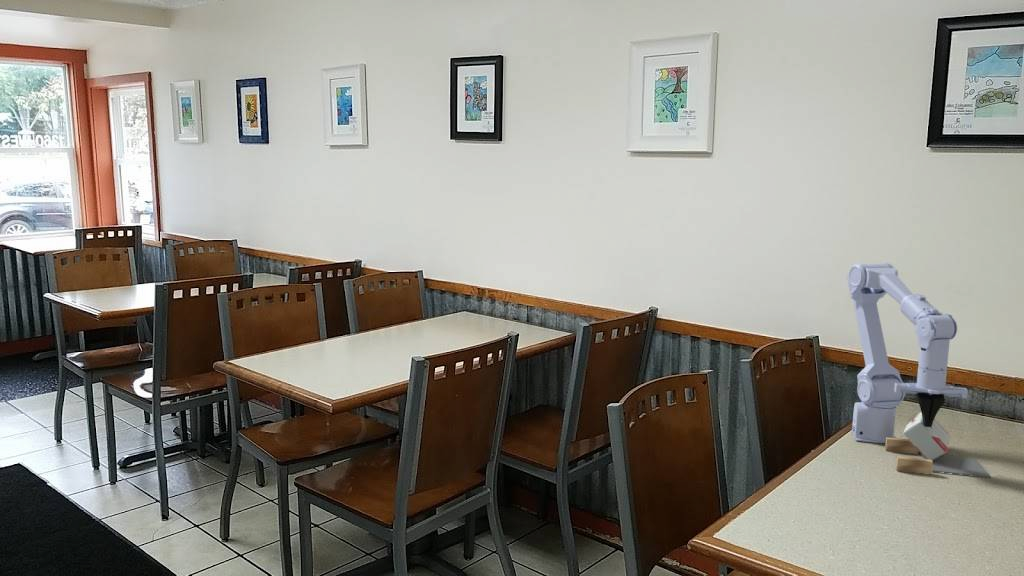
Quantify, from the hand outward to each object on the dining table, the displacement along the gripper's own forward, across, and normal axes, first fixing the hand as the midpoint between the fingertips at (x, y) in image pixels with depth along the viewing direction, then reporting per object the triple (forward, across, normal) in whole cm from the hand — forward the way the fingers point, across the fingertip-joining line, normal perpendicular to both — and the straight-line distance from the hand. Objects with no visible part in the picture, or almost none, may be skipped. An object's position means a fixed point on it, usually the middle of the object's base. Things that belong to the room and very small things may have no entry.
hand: (927, 425), depth 177 cm
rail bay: (+9, -3, 0) cm, 10 cm away
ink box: (+4, 0, 0) cm, 4 cm away
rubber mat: (+9, +6, 0) cm, 11 cm away
